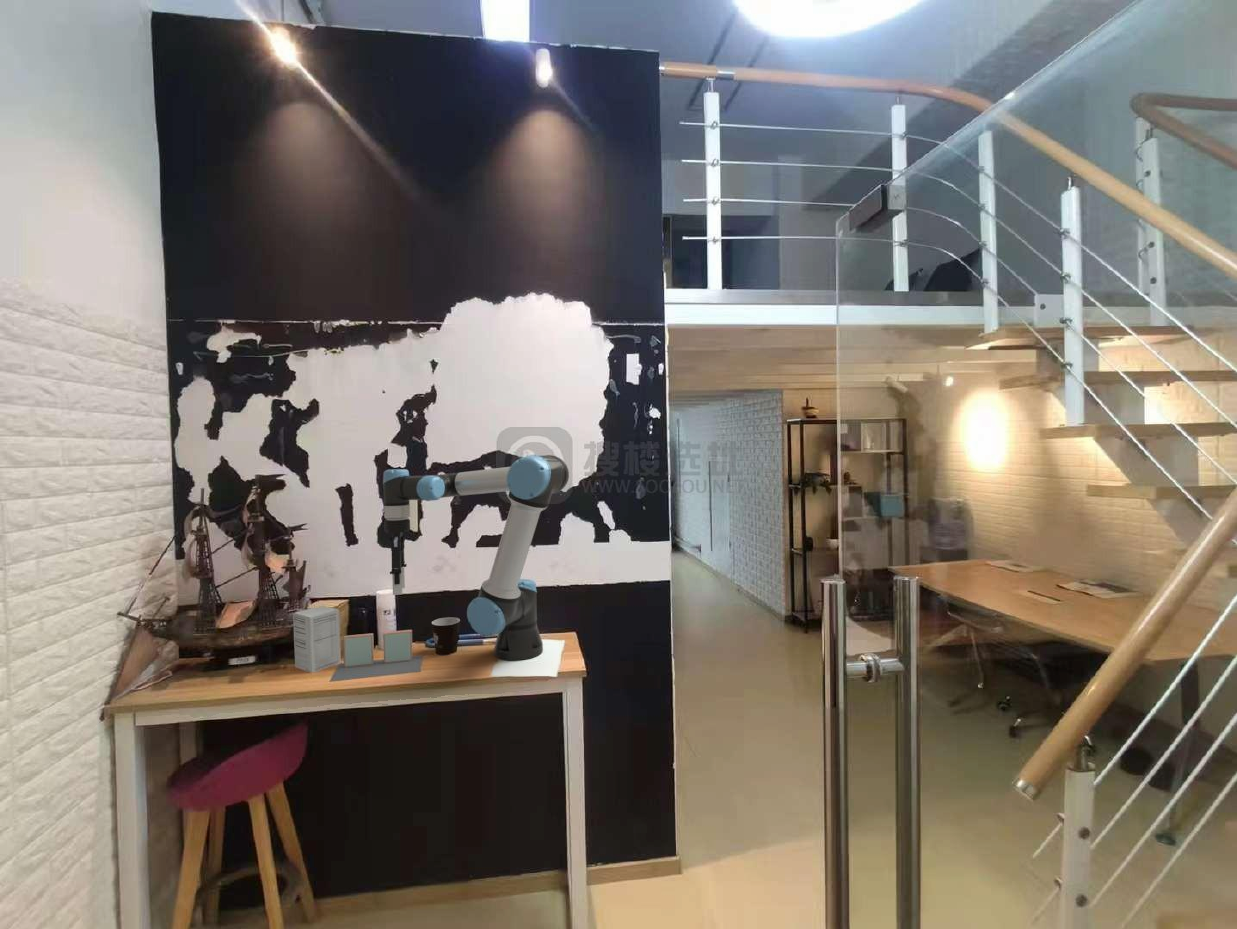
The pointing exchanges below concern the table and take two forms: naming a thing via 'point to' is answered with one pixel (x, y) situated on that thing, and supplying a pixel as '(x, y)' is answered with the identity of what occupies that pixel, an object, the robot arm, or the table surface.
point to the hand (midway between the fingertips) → (399, 591)
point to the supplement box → (316, 638)
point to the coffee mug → (446, 635)
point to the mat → (377, 669)
